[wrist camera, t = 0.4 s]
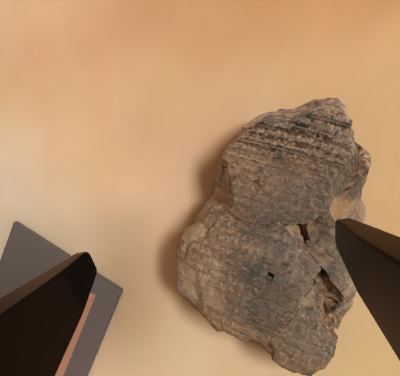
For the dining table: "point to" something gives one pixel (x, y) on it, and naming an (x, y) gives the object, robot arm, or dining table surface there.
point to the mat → (41, 262)
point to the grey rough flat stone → (279, 234)
